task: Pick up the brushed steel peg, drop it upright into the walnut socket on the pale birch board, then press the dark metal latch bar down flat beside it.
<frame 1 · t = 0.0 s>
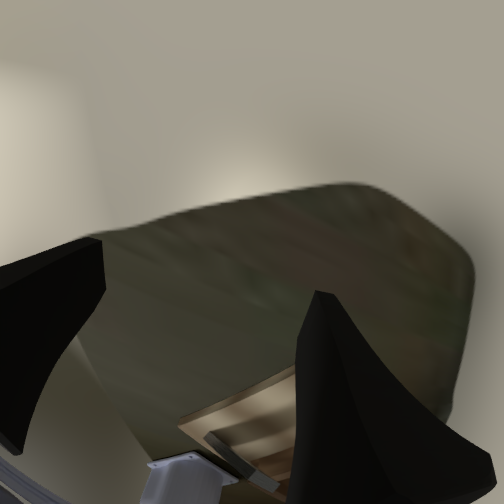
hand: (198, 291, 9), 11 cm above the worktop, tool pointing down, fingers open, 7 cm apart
latch bar: (237, 460, 21), point 5 cm above the worktop, hinge at 45.0°
socket board: (289, 442, 26), on the worktop
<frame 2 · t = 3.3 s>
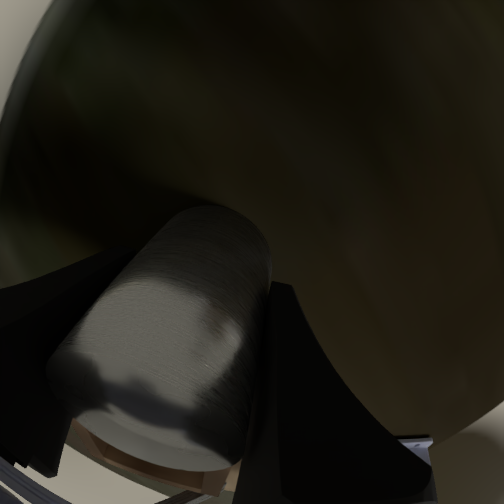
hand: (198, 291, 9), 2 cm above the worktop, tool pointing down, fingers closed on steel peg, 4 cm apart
steel peg: (212, 261, 11), on the worktop, touching gripper
socket board: (167, 430, 18), on the worktop
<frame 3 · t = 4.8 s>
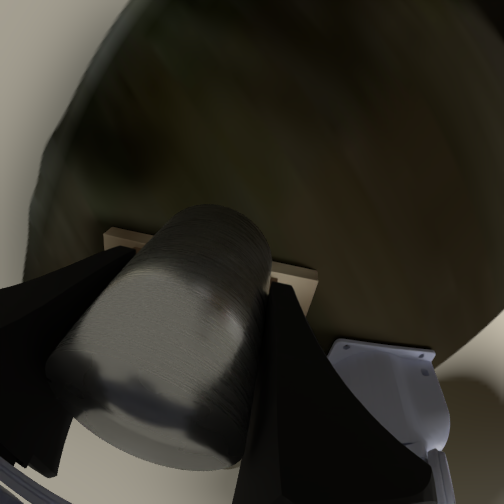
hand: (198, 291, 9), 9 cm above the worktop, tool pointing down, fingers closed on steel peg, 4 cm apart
steel peg: (212, 261, 11), point 7 cm above the worktop, touching gripper
socket board: (198, 345, 23), on the worktop
when the fingers open (5 cm above the worktop, at t = 6.5 s): steel peg drops 2 cm, resting on socket board.
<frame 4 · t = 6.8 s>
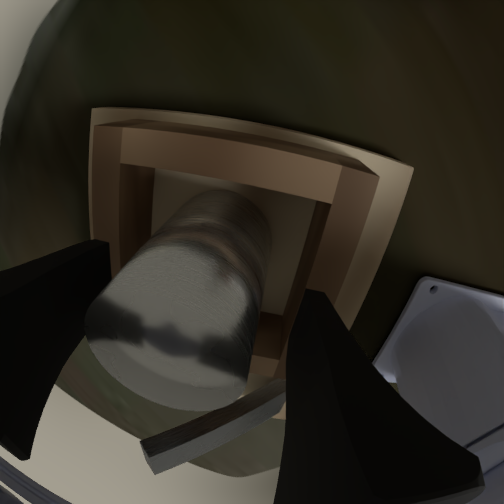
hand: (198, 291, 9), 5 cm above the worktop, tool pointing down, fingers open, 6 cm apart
latch bar: (220, 427, 14), point 5 cm above the worktop, hinge at 45.0°
steel peg: (220, 239, 13), point 1 cm above the worktop, touching socket board
socket board: (218, 296, 16), on the worktop
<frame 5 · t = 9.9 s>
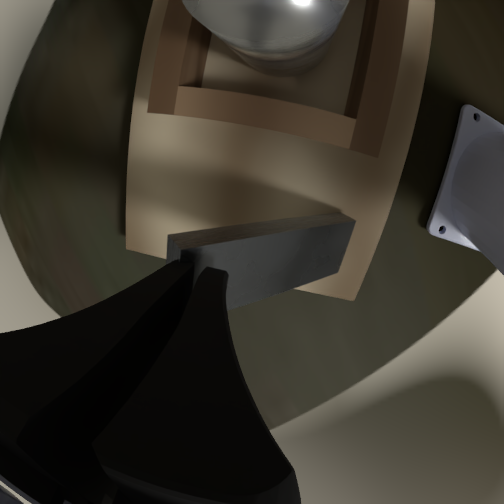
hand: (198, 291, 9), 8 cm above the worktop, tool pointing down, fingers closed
latch bar: (275, 258, 12), point 5 cm above the worktop, hinge at 44.5°, touching gripper
steel peg: (282, 34, 11), point 1 cm above the worktop, touching socket board
socket board: (270, 112, 14), on the worktop
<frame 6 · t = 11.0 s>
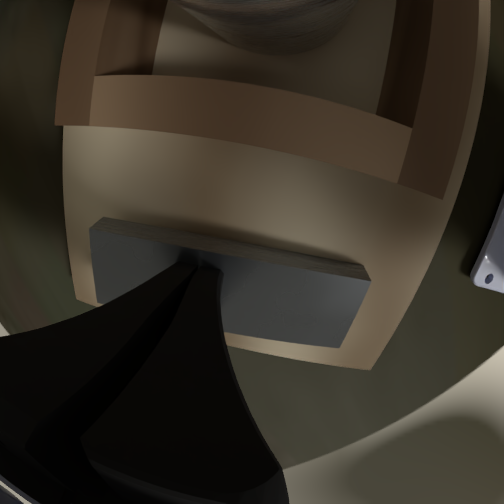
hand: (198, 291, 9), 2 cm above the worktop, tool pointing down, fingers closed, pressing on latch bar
latch bar: (222, 287, 10), point 2 cm above the worktop, hinge at 4.5°, touching gripper, socket board
socket board: (259, 111, 9), on the worktop
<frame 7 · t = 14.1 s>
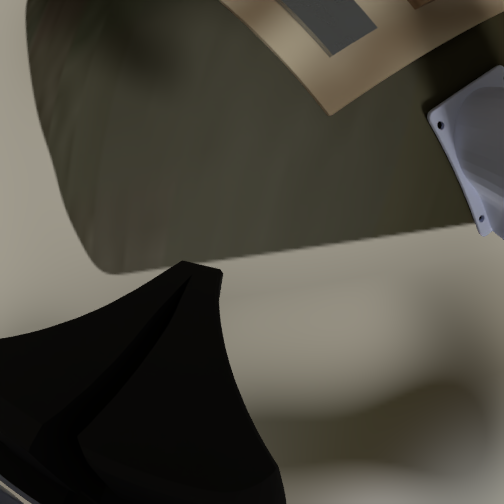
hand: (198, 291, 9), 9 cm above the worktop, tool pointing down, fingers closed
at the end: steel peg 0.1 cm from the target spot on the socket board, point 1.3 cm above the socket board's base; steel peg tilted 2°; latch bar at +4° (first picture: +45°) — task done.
